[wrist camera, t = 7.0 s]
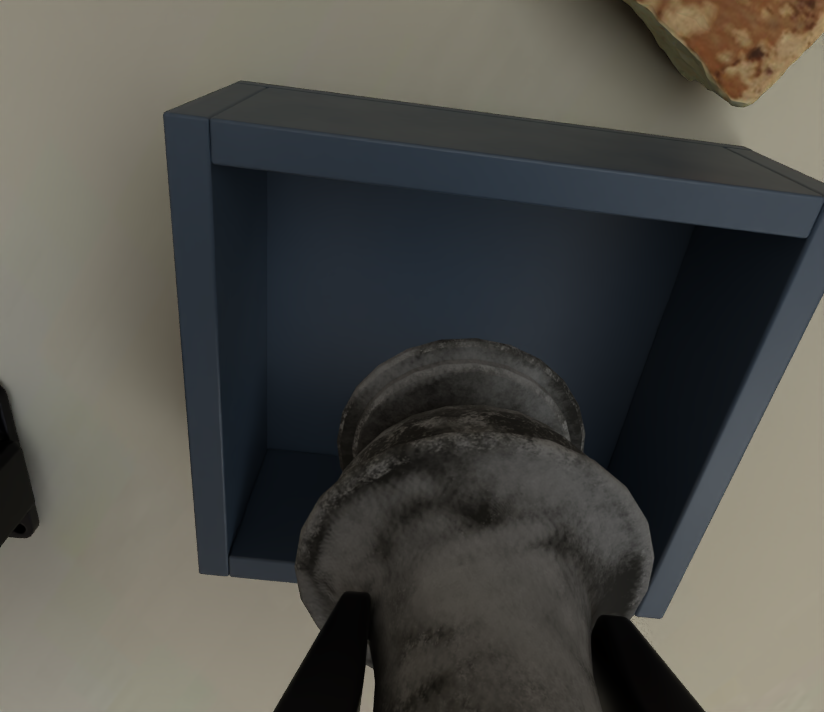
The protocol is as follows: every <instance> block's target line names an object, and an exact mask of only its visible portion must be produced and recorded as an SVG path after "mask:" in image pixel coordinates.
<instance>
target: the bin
mask: <svg viewBox="0 0 824 712" xmlns="http://www.w3.org/2000/svg"><path fill="white" fill-rule="evenodd" d="M163 120H164V133H165V145H166V158H167V171H168V183H169V196H170V209H171V221H172V234H173V247H174V259H175V272H176V285H177V297H178V310H179V323H180V335H181V348H182V361H183V373H184V386H185V399H186V412H187V424H188V437H189V450H190V462H191V475H192V488H193V500H194V513H195V526H196V538H197V551H198V564H199V573H200V574H207V575H217V576H228V575H229V574H230V576H231V577H238V578H248V579H259V580H269V581H279V582H289V583H298V582H297V577H296V572H295V567H294V566H295V561H296V555H297V549H298V544H299V538H300V533H301V528H302V527H303V525H304V523H305V522H306V520H307V518H308V516H309V515H310V513H311V511H312V510H313V508H314V506H315V504H316V503H317V501H318V499H319V498H320V496H321V495H322V494H323V493H324V492H326V491H327V490H328V489H329V488H330V487H331V486H332V485H333V484H334V483H336V482H337V481H338V479H339V477H340V476H341V474H342V472H343V471H342V469H341V467H340V461H339V454H338V446H337V437H338V432H339V427H340V422H341V417H342V412H343V410H344V408H345V406H346V404H347V403H348V401H349V399H350V397H351V395H352V394H353V392H354V390H355V388H356V387H357V386H358V385H359V384H360V383H361V382H362V381H363V380H364V379H365V378H366V377H367V376H368V375H369V374H370V373H371V372H372V371H373V370H374V369H375V368H376V367H377V366H378V365H380V364H381V363H383V362H385V361H387V360H388V359H390V358H392V357H394V356H396V355H397V354H399V353H401V352H403V351H404V350H406V349H409V348H412V347H416V346H419V345H423V344H427V343H430V342H434V341H438V340H441V339H468V338H478V339H483V340H488V341H493V342H498V343H503V344H508V345H512V346H514V347H516V348H518V349H520V350H522V351H524V352H526V353H528V354H531V355H533V356H535V357H537V358H539V359H541V360H542V361H543V362H544V363H545V364H546V365H548V366H549V367H550V368H551V369H552V370H553V371H554V372H556V373H557V374H558V375H559V376H560V377H561V378H562V379H563V380H564V381H565V383H566V385H567V386H568V388H569V389H570V391H571V393H572V394H573V396H574V398H575V399H576V401H577V403H578V405H579V407H580V412H581V416H582V421H583V425H584V430H585V440H584V449H583V453H584V454H586V455H587V456H588V457H589V458H591V459H593V460H595V461H596V462H597V463H598V464H600V465H601V466H602V467H603V468H604V469H606V470H607V471H608V472H609V473H610V474H612V475H613V476H614V477H615V478H616V479H618V480H619V481H620V482H621V483H622V484H624V485H625V486H626V487H627V488H628V490H629V492H630V493H631V495H632V496H633V498H634V500H635V501H636V503H637V505H638V506H639V508H640V510H641V511H642V513H643V514H644V516H645V518H646V519H647V522H648V524H649V530H650V535H651V541H652V547H653V552H654V562H653V567H652V572H651V576H650V581H649V586H648V590H647V592H646V594H645V596H644V597H643V599H642V601H641V602H640V604H639V606H638V607H637V609H636V611H635V612H634V614H635V616H637V617H647V618H657V619H660V618H662V617H663V615H664V613H665V611H666V609H667V607H668V605H669V603H670V601H671V599H672V597H673V595H674V593H675V591H676V589H677V587H678V585H679V583H680V581H681V579H682V577H683V575H684V573H685V571H686V569H687V567H688V565H689V563H690V561H691V559H692V557H693V555H694V553H695V551H696V549H697V547H698V545H699V543H700V541H701V539H702V537H703V535H704V533H705V531H706V529H707V527H708V525H709V523H710V521H711V519H712V517H713V515H714V513H715V511H716V509H717V507H718V505H719V503H720V501H721V499H722V497H723V495H724V493H725V491H726V489H727V487H728V485H729V483H730V481H731V479H732V477H733V475H734V473H735V471H736V469H737V467H738V465H739V463H740V461H741V459H742V457H743V454H744V452H745V450H746V448H747V446H748V444H749V442H750V440H751V438H752V436H753V434H754V432H755V430H756V428H757V426H758V424H759V422H760V420H761V418H762V416H763V414H764V412H765V410H766V408H767V406H768V404H769V402H770V400H771V398H772V396H773V394H774V392H775V390H776V388H777V386H778V384H779V382H780V380H781V378H782V376H783V374H784V372H785V370H786V368H787V366H788V364H789V362H790V360H791V358H792V356H793V354H794V352H795V350H796V348H797V346H798V344H799V342H800V340H801V338H802V336H803V334H804V332H805V330H806V328H807V326H808V324H809V322H810V320H811V318H812V316H813V314H814V312H815V310H816V308H817V306H818V304H819V302H820V300H821V298H822V296H823V293H824V183H823V182H821V181H818V180H816V179H814V178H812V177H809V176H807V175H805V174H803V173H801V172H798V171H796V170H794V169H792V168H790V167H787V166H785V165H783V164H781V163H779V162H776V161H774V160H772V159H770V158H768V157H765V156H763V155H761V154H759V153H756V152H754V151H752V150H751V149H748V148H746V147H743V146H736V145H728V144H720V143H713V142H705V141H698V140H690V139H682V138H675V137H667V136H659V135H652V134H644V133H637V132H629V131H621V130H614V129H606V128H599V127H591V126H583V125H576V124H568V123H560V122H553V121H545V120H538V119H530V118H522V117H515V116H507V115H499V114H492V113H484V112H477V111H469V110H461V109H454V108H446V107H439V106H431V105H423V104H416V103H408V102H400V101H393V100H385V99H378V98H370V97H362V96H355V95H347V94H340V93H332V92H324V91H317V90H309V89H301V88H294V87H286V86H279V85H271V84H263V83H256V82H248V81H238V82H236V83H234V84H232V85H229V86H227V87H224V88H222V89H219V90H217V91H215V92H212V93H210V94H207V95H205V96H202V97H200V98H198V99H195V100H193V101H190V102H188V103H185V104H183V105H181V106H178V107H176V108H173V109H171V110H169V111H166V112H164V114H163ZM634 614H633V616H634Z"/></svg>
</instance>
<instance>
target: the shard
mask: <svg viewBox="0 0 824 712" xmlns="http://www.w3.org/2000/svg"><path fill="white" fill-rule="evenodd" d="M622 1H624V2H625V3H627V4H628V5H629V6H631V7H632V8H633V9H634V11H635V13H636V14H637V15H638V16H639V17H640V18H641V19H642V20H643V21H644V23H645V24H646V26H647V27H648V28H649V29H650V31H651V32H652V33H653V35H654V37H655V39H656V41H657V43H658V45H659V47H660V48H662V49H663V50H664V51H665V52H666V54H667V55H668V57H669V58H670V60H671V61H672V63H673V64H674V66H675V67H676V68H677V69H678V71H679V73H680V74H681V75H682V76H684V77H685V78H686V79H687V80H689V81H693V80H697V81H698V82H700V83H702V84H703V85H704V86H705V87H706V88H707V90H711V91H713V92H715V93H716V94H717V95H719V96H720V97H721V98H723V99H724V100H726V101H727V102H729V103H730V104H731V105H732V106H736V107H746V106H748V105H750V104H753V103H754V102H755V101H756V100H757V99H758V98H759V97H760V96H761V95H762V94H763V93H764V92H766V91H767V90H768V89H769V88H770V87H771V86H772V85H773V84H774V83H775V82H776V81H777V80H778V79H779V78H780V77H781V76H782V75H783V73H784V72H785V71H786V70H787V68H788V67H789V66H790V65H791V64H792V63H794V62H795V61H796V60H797V59H798V58H799V57H800V56H801V55H802V54H803V52H804V51H805V50H807V49H808V48H809V47H810V46H811V45H812V44H813V43H814V42H815V41H816V40H817V39H818V38H819V36H820V35H821V34H822V33H823V32H824V0H622Z"/></svg>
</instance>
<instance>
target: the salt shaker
mask: <svg viewBox="0 0 824 712" xmlns="http://www.w3.org/2000/svg"><path fill="white" fill-rule="evenodd" d="M584 440H585V430H584V425H583V421H582V416H581V412H580V407H579V405H578V403H577V401H576V399H575V398H574V396H573V394H572V393H571V391H570V389H569V388H568V386H567V385H566V383H565V381H564V380H563V379H562V378H561V377H560V376H559V375H558V374H557V373H556V372H554V371H553V370H552V369H551V368H550V367H549V366H548V365H546V364H545V363H544V362H543V361H542V360H541V359H539V358H537V357H535V356H533V355H531V354H528V353H526V352H524V351H522V350H520V349H518V348H516V347H514V346H512V345H508V344H503V343H498V342H493V341H488V340H483V339H478V338H468V339H441V340H438V341H434V342H430V343H427V344H423V345H419V346H416V347H412V348H409V349H406V350H404V351H403V352H401V353H399V354H397V355H396V356H394V357H392V358H390V359H388V360H387V361H385V362H383V363H381V364H380V365H378V366H377V367H376V368H375V369H374V370H373V371H372V372H371V373H370V374H369V375H368V376H367V377H366V378H365V379H364V380H363V381H362V382H361V383H360V384H359V385H358V386H357V387H356V388H355V390H354V392H353V394H352V395H351V397H350V399H349V401H348V403H347V404H346V406H345V408H344V410H343V412H342V417H341V422H340V427H339V432H338V437H337V446H338V454H339V461H340V467H341V469H342V471H343V472H342V474H341V476H340V477H339V479H338V481H337V482H336V483H334V484H333V485H332V486H331V487H330V488H329V489H328V490H327V491H326V492H324V493H323V494H322V495H321V496H320V498H319V499H318V501H317V503H316V504H315V506H314V508H313V510H312V511H311V513H310V515H309V516H308V518H307V520H306V522H305V523H304V525H303V527H302V528H301V533H300V538H299V544H298V549H297V555H296V561H295V566H294V567H295V572H296V577H297V582H298V587H299V592H300V597H301V600H302V602H303V603H304V605H305V607H306V608H307V610H308V612H309V613H310V615H311V617H312V618H313V620H314V622H315V623H316V625H317V627H318V628H319V629H320V630H321V629H322V627H323V626H324V624H325V622H326V621H327V619H328V617H329V615H330V614H331V612H332V610H333V609H334V607H335V605H336V603H337V602H338V600H339V598H340V597H341V595H342V594H343V593H344V592H345V591H357V592H367V593H369V594H370V596H371V606H370V618H369V631H368V643H367V656H366V665H368V666H369V667H371V668H373V669H374V677H375V691H374V707H373V712H603V711H602V708H601V704H600V700H599V696H598V692H597V689H596V685H595V681H594V677H593V666H592V654H591V632H592V630H593V627H594V625H595V622H596V620H597V618H598V617H599V616H601V615H604V614H605V615H616V616H623V617H626V618H628V619H629V620H630V619H631V617H632V616H633V614H634V612H635V611H636V609H637V607H638V606H639V604H640V602H641V601H642V599H643V597H644V596H645V594H646V592H647V590H648V586H649V581H650V576H651V572H652V567H653V562H654V552H653V547H652V541H651V535H650V530H649V524H648V522H647V519H646V518H645V516H644V514H643V513H642V511H641V510H640V508H639V506H638V505H637V503H636V501H635V500H634V498H633V496H632V495H631V493H630V492H629V490H628V488H627V487H626V486H625V485H624V484H622V483H621V482H620V481H619V480H618V479H616V478H615V477H614V476H613V475H612V474H610V473H609V472H608V471H607V470H606V469H604V468H603V467H602V466H601V465H600V464H598V463H597V462H596V461H595V460H593V459H591V458H589V457H588V456H587V455H586V454H584V453H583V449H584Z"/></svg>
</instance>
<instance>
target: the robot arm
mask: <svg viewBox="0 0 824 712" xmlns="http://www.w3.org/2000/svg"><path fill="white" fill-rule="evenodd" d="M38 526H39V519H38V515H37V511H36V507H35V500H34V496H33V492H32V488H31V484H30V480H29V476H28V472H27V468H26V464H25V460H24V456H23V452H22V449H21V447H20V444H19V440H18V436H17V432H16V428H15V424H14V420H13V416H12V412H11V408H10V404H9V400H8V396H7V394H6V391H5V390H4V389H3V387H2V386H1V385H0V547H1V545H2V544H3V543H4V542H5V540H6V539H7V538H8V537H14V538H28V537H30V536H31V535H32V534H33V533H34V531H35V530H36V529H37V527H38ZM370 606H371V596H370V594H369V593H367V592H357V591H345V592H344V593H343V594H342V595H341V597H340V598H339V600H338V602H337V603H336V605H335V607H334V609H333V610H332V612H331V614H330V615H329V617H328V619H327V621H326V622H325V624H324V626H323V627H322V629H321V631H320V633H319V634H318V636H317V638H316V639H315V641H314V643H313V645H312V646H311V648H310V650H309V651H308V653H307V655H306V657H305V658H304V660H303V662H302V663H301V665H300V667H299V668H298V670H297V672H296V674H295V675H294V677H293V679H292V680H291V682H290V684H289V686H288V687H287V689H286V691H285V692H284V694H283V696H282V698H281V699H280V701H279V703H278V704H277V706H276V708H275V710H274V711H273V712H360V705H361V697H362V689H363V682H364V674H365V666H366V656H367V643H368V631H369V618H370ZM591 654H592V666H593V677H594V681H595V685H596V689H597V692H598V696H599V700H600V704H601V708H602V711H603V712H705V711H704V710H703V708H702V707H701V706H700V705H699V703H698V702H697V701H696V700H695V699H694V697H693V696H692V695H691V694H690V692H689V691H688V690H687V689H686V688H685V686H684V685H683V684H682V683H681V681H680V680H679V679H678V678H677V677H676V675H675V674H674V673H673V672H672V670H671V669H670V668H669V667H668V666H667V664H666V663H665V662H664V661H663V660H662V658H661V657H660V656H659V655H658V653H657V652H656V651H655V650H654V649H653V647H652V646H651V645H650V644H649V642H648V641H647V640H646V639H645V638H644V636H643V635H642V634H641V633H640V631H639V630H638V629H637V628H636V627H635V625H634V624H633V623H632V622H631V621H630V620H629V619H628V618H626V617H623V616H616V615H605V614H604V615H601V616H599V617H598V618H597V620H596V622H595V625H594V627H593V630H592V632H591Z"/></svg>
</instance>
